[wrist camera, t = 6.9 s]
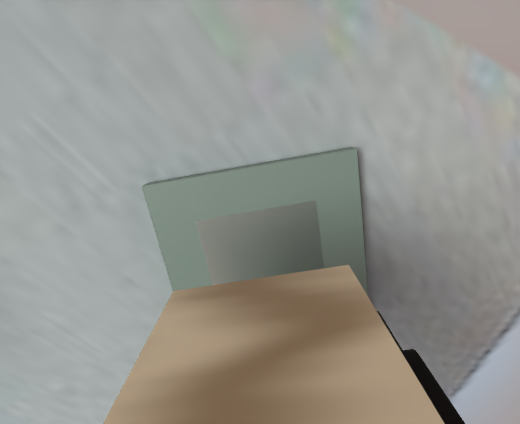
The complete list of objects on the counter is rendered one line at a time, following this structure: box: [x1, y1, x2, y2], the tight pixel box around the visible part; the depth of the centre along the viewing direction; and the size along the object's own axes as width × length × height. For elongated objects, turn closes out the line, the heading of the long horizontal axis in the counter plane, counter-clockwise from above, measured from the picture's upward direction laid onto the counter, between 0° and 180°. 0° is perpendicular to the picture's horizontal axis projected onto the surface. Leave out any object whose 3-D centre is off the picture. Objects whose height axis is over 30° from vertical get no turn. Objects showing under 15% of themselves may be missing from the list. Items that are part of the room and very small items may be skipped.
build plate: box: [142, 147, 368, 296], centre depth 18 cm, size 12×12×1 cm
